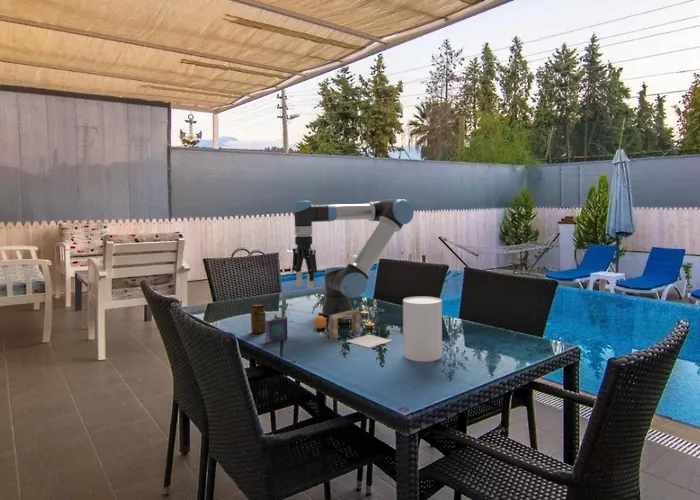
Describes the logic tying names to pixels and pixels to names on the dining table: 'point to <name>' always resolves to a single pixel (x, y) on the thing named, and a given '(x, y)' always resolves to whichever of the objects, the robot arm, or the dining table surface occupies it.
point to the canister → (422, 328)
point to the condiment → (258, 320)
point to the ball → (320, 322)
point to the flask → (276, 329)
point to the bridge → (333, 318)
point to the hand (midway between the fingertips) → (305, 287)
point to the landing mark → (368, 341)
